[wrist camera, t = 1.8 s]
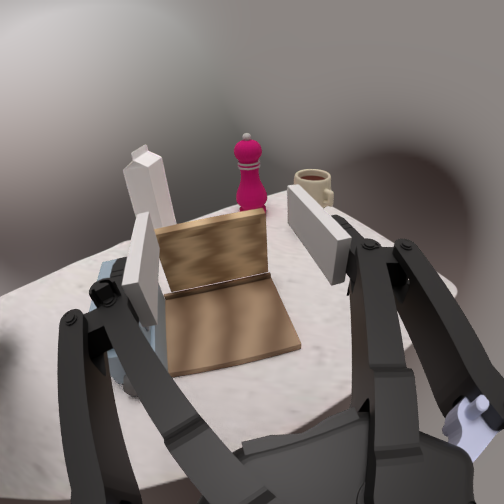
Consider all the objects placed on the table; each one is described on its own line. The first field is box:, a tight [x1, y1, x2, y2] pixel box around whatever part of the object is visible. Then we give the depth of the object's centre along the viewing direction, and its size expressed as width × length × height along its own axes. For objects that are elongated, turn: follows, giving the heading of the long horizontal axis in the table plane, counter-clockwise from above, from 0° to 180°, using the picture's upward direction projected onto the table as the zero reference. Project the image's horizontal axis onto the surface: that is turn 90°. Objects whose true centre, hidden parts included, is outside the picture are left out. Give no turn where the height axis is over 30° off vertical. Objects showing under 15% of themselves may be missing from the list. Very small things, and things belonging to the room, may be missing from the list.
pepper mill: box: [234, 133, 267, 213], centre depth 61 cm, size 7×7×20 cm
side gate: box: [154, 208, 268, 292], centre depth 41 cm, size 16×2×11 cm, turn 104°
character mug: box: [294, 169, 334, 209], centre depth 55 cm, size 11×7×13 cm, turn 33°
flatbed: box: [164, 272, 301, 377], centre depth 40 cm, size 18×15×2 cm
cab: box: [89, 259, 168, 397], centre depth 35 cm, size 8×19×12 cm, turn 14°
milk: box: [123, 145, 176, 229], centre depth 54 cm, size 6×6×22 cm
